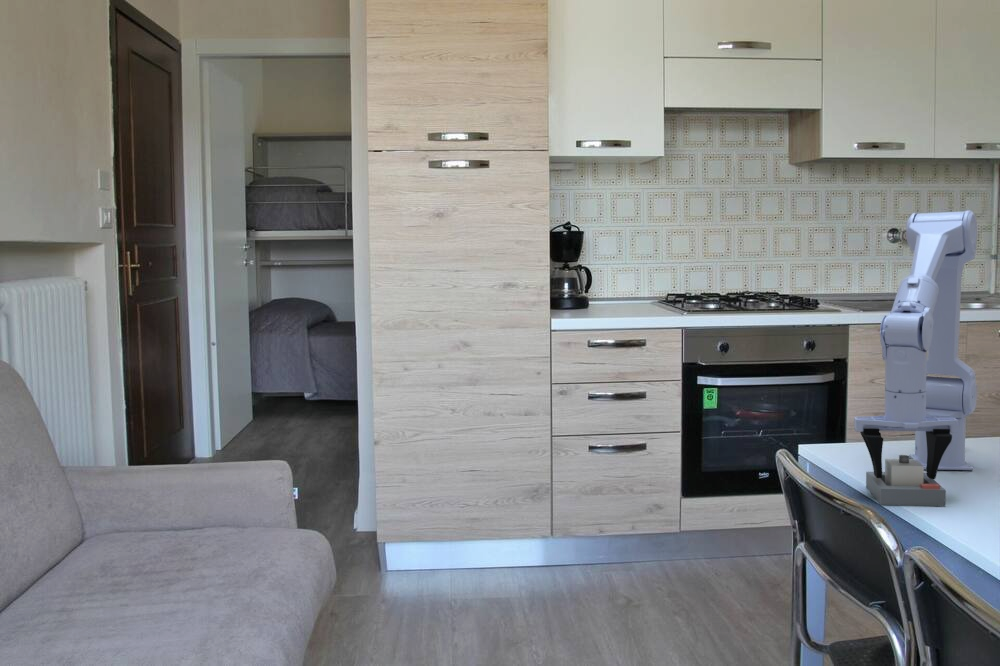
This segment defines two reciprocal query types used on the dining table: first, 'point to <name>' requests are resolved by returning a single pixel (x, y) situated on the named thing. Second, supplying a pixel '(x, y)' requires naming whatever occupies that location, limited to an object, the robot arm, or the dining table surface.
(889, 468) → the plug
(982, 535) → the dining table surface
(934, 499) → the socket plate
